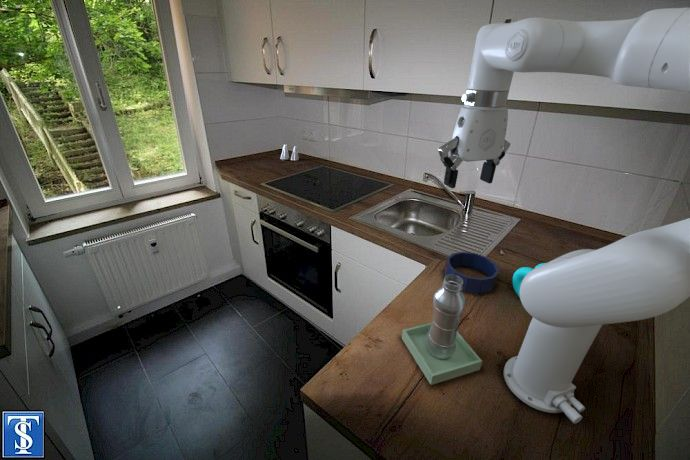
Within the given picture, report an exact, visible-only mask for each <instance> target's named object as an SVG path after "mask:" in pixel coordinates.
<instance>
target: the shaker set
mask: <svg viewBox="0 0 690 460" xmlns="http://www.w3.org/2000/svg"><path fill="white" fill-rule="evenodd" d="M291 152H292V153H291V156H289V148H288V144H287V143H285V144H283V147H282V151H281V155H280V160H281V161H288V160H289V159H290V161H294V162H296V161H299V160H300V159H299V158H300V157H299V149H298V145H294V146H293V148H292V151H291Z"/></svg>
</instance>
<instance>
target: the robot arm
mask: <svg viewBox="0 0 690 460" xmlns="http://www.w3.org/2000/svg"><path fill="white" fill-rule="evenodd" d="M514 73H524V74H525V73H559V74H561V73H562V74H574V75H585V76H586V75H587V76H595V77H603V78H608V79H611V80H613V82H615V83H616V84H617V85H621V86H625V87H632V88H633V87H635V88H644V89H645V88H646V89H654V90H663V91H673V92H674V91H675V92H684V93H690V7H666V8H664V7H663V8H656V9H652V10H649V11H648V10H647V11H646V12H644V13H642V14H640V16H637V17H633V18H628V19H619V20H618V19H617V20H589V21H587V20H585V21H583V20H582V21H581V20H580V21H575V20H573V21H572V20H565V19H558V18H557V19H555V18H549V17H548V18H546V17H527V18H523V19H519V20H516V21H512V22H496V23H488V24H484V25H483V26H481V27H480V28H479V29H478V31H477V34H476V37H475V43H474V49H473V54H472V61H471V64H470V70H469V76H468V82H467V87H466V91H465V92H466V93H463V94H462V95H461V101H462V102H464V103H463V106H461V108H460V110H459V113H458V116H457V118H456V121H455V125H454V129H453V132H452V137H451V139H450V140H449V141H448V142H445V143H444V144H443V145H441V146H440V147H438V148H437V149H438V154H439V157H440V158H439V159H440V162H442V164H443V166H444V167H445V172H444V179H443V184H444V186H447V187H448V188H450V189H455V188H456V186H457V180H458V176H459V175H458V174H459V169H457V168H458V167H459V166H460V165H461V164H462V162H467V163H469V162H480V161H484V162H483V164H482V168H481V172H480V176H479V179H480V181H483V182H484V183H487V184H492V183H493V180H494V177H495V173H496V169H497V166H499V165H500V164H501V160H503V158H504V157H505V156H506V153H507V152H508V150H509V148H510V147H511V142H509V141H508V140H506V135H507V127H508V120H509V108H508V107H506V106H507V102H508V97H509V94H510V89H511V84H512V82H513V76H514ZM449 153H450V155H449ZM545 263H546V264H544V265H541V266H539V267H537V268H535V267H534V268H535V269H534V268H533V270H532V271H530V272H529V273H528V274H527V275H526V276H525V277H524V279H523V280H522V282H521V285H520V297H519V299H520V302H521V305H522V307H523V309H524V310H525V311H526V312H527V313H528V315H530V316H531V320H530V323H529V324H530V325H529V324H528V326H529V328H528V327H527V328H528V329H527V331H526V334H525V336H524V339H523V341H522V344H521V346H520V349H519V352H518V355H516V356H515V355H514V356H512V357H511V358H509V359H507V361H506V363H505V365H504V367H503V378H504V381H505V383H506V385H507V387H508V388H509V390H510V391H511V392H512V393H513V394H514V395H515V396H516V397H517V398H518V399H519V400H520V401H522V402H523V403H524V404H525V405H527V406H529V407H531V408H534V409H535V410H538V411H541V412H544V413H549V414H560V413H563V414H564V415H565V416H566V417H567V418H568V419H569V421H571V422H572V423H573V424H578V423H579V422H580V421H582V420H583V416H582V415H581V414H580V413H582V412H584V411H585V410H586V407H585V406H584V405H583V404H582V403H581V402H580V401H579V400H578V399H576V397H575V390H576V389H577V386H576V385H575V384H574V383H572V382H573V380H574V378H575V376H576V375H577V372H578V370H579V369H580V366H581V365H582V363H583V361H584V360H585V357H586V355H587V353H588V352H589V350H590V348H591V346H592V345H593V343H594V341H595V339H596V337H597V335H598V334H599V332H600V330H601V328H602V327H603V326H604V325H611V324H619V323H628V322H636V321H637V322H638V321H642V320H648V319H651V318H654V317H658V316H661V315H663V314H666V313H668V312H670V311H672V310H673V309H675V308H677V307H678V306H680V305H681V304H682V303H684V302H685V301H686V300H687V299H689V298H690V217H688V218H685V219H683V220H679V221H676V222H672V223H668V224H665V225H661V226H658V227H654V228H650V229H645V230H641V231H637V232H634V233H631V234H629V235H627V236H625V237H622V238H620V239H618V240H616V241H614V242H611V243H610V244H608V245H605V246H603V247H600V248H598V249H592V248H585V249H584V248H583V249H578V250H573V251H570V252H567V253H565V254H562V255H560V256H558V257H556V258H554V259H551V260H549V261H548V262H545Z"/></svg>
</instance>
